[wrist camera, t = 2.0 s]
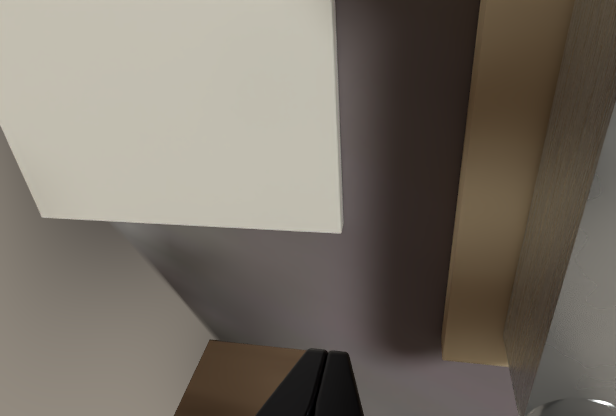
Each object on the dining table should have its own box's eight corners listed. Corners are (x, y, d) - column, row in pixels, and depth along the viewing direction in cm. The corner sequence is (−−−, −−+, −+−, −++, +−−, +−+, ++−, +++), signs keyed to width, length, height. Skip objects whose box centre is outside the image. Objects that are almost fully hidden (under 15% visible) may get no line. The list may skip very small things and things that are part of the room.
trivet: (343, 222, 15) (340, 233, 15) (52, 208, 18) (42, 217, 17) (324, -293, 9) (319, -304, 8) (-131, -215, 11) (-156, -220, 11)
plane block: (620, 355, 16) (631, 379, 15) (441, 338, 17) (442, 359, 17) (940, -399, 7) (1009, -438, 6) (518, -326, 8) (529, -350, 7)
